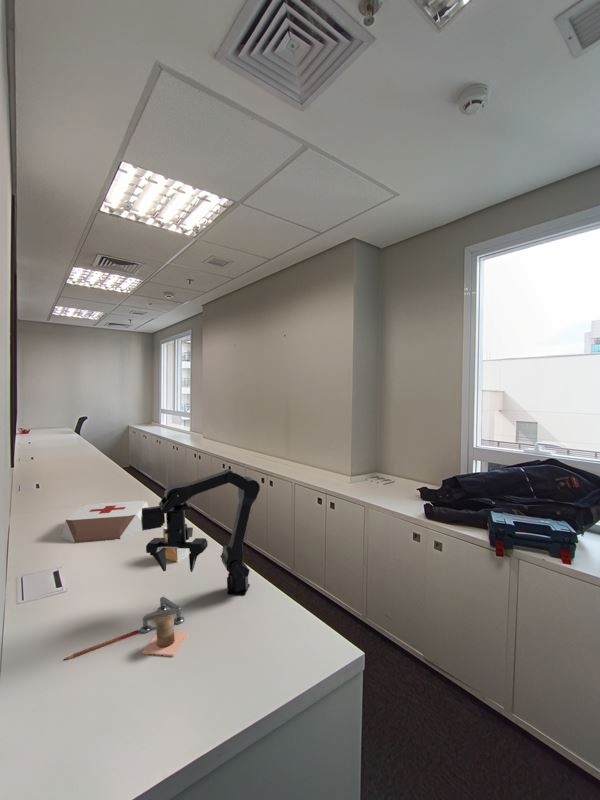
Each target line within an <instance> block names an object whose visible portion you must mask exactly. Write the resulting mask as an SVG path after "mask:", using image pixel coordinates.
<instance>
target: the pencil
mask: <svg viewBox="0 0 600 800" xmlns="http://www.w3.org/2000/svg"><path fill="white" fill-rule="evenodd" d="M139 633H140V629H136V630H134V631H131V632H129V633H126V634H123V635H121V636H117V637H115V638H112V639H110V640H107V641H104V642H102V643H101V642H100V643H98V644H95V645H93V646H91V647H89V648H86V649H83V650H80V651H77V652H74V653H72V654H71V655H69V656H67V657H65V658H64V659H62V661H66V660H67V661H68V660H71V659H75V658H77V657H79V656H83V655H84V654H87V653H89V652H92V651H95V650H98V649H100V648H101V649H102V648H103V647H106V646H108V645H110V644H114V643H117V642H119V641H121V640H125V639H127V638H129V637H132V636H135V635H137V634H139Z"/></svg>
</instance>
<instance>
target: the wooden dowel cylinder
mask: <svg viewBox="0 0 600 800" xmlns="http://www.w3.org/2000/svg"><path fill="white" fill-rule="evenodd" d="M174 619H175V618H174V617H173V616H172V615H169V616H165V617H161V618H157V620H156V624H155V626H156V629H155V630H156V634H157V646H158V647H160V648H165V647H169V646H170V645H172V644H173V643H174V641H175V639H174V632H175V624H174Z"/></svg>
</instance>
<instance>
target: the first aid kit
mask: <svg viewBox="0 0 600 800" xmlns="http://www.w3.org/2000/svg"><path fill="white" fill-rule="evenodd" d="M146 507H147V508H149V507H150V506H149V504H148V501H146V500H136V501H135V500H134V501H122V502H121V501H119V502H103V503H90V504H84V505H82V506H81V507H79V509H77V510H76V511H75V512H73V513H72V514H71V515H70V516H68V517H66V519H65V520H64V521H65V522H64V525H63V528H62V531H61V536H60V537H61V538H63V539H65V540H67V541H69V542H71V543H74V544H81V543H82V544H83V543H92V542H95V543H96V542H105V541H106V540H107V541H114V540H115V539H119V540H123V539H125V537H126V538H128V537H131V536H134V535H136V534H135V533H137V534H139V533H138V532H140V533H141V531H142V523H141V517H142V508H146ZM142 532H143V531H142ZM133 534H134V535H133ZM130 535H131V536H130ZM127 536H128V537H127ZM122 538H123V539H122ZM115 541H116V540H115Z"/></svg>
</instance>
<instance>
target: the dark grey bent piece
mask: <svg viewBox="0 0 600 800" xmlns="http://www.w3.org/2000/svg"><path fill="white" fill-rule="evenodd" d="M159 603H160V606H159V607H158V608H157V612H154V613H153V612H152V613H149V614H145V615H144V616H142V625H143V626H142V627H140V628H139V633H141V634H147V633H150V631H152V626H151V625H150V624H148V622H149V621H150V622H151V621H153V620H156V619H157V620H158V619H160V618H162V617H165V616H173V615H176V617H175V618H174V625H180V624H182V623H184V621H185V617H183V616H182V615H181V614H182V613H181V610H182V609H181V606H179V605H177V604H176V603H174V602H173V601H171V600H170V599H168V598H166V597H165V596H162V597H160V598H159ZM168 608H169V609H168Z"/></svg>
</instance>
